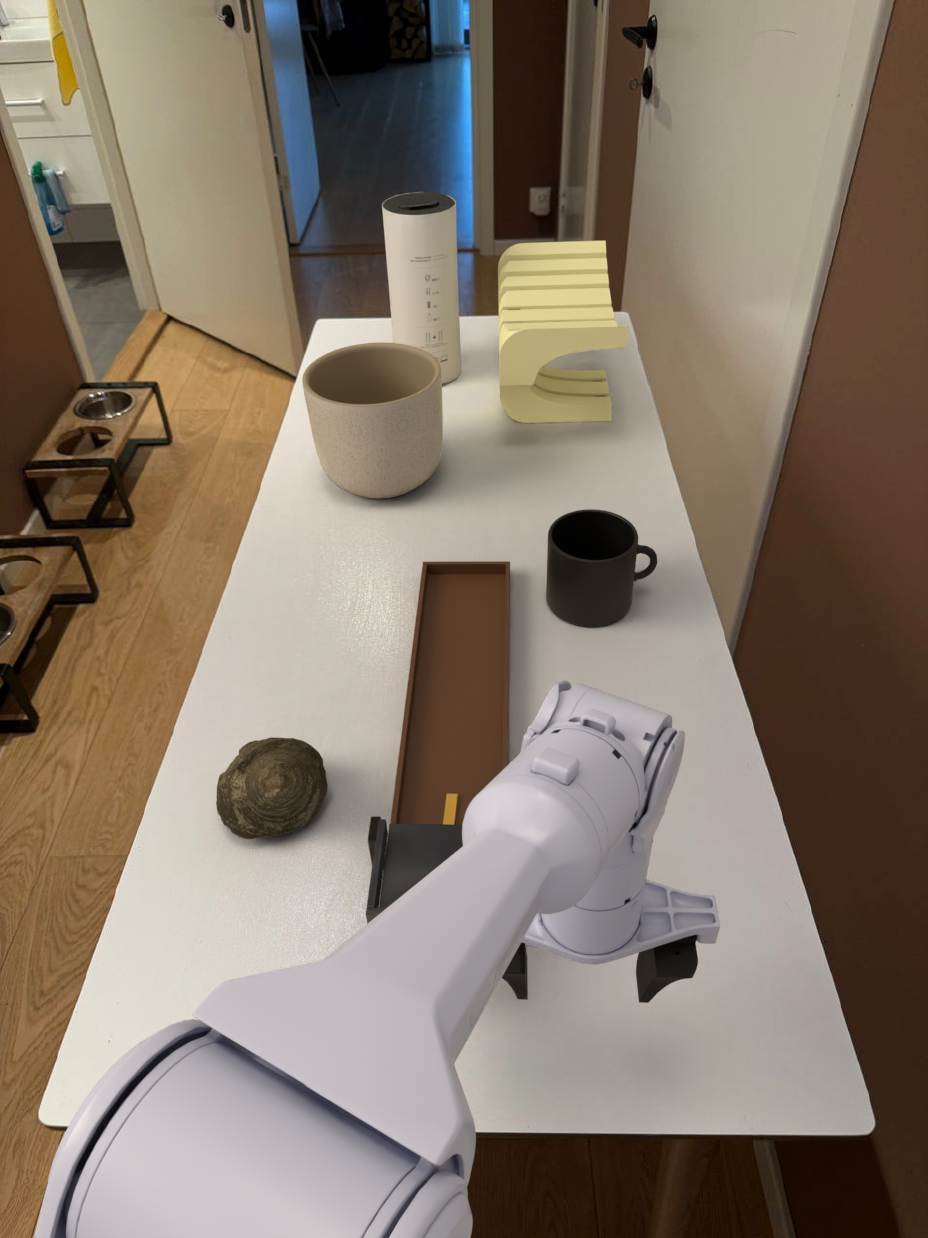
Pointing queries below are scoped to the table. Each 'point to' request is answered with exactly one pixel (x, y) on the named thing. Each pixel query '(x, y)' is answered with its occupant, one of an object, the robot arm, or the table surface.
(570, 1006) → the table surface
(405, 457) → the planter
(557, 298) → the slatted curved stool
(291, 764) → the seashell
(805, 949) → the table surface
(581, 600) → the mug
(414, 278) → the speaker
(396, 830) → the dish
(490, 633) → the tray
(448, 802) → the spoon
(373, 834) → the bracket
